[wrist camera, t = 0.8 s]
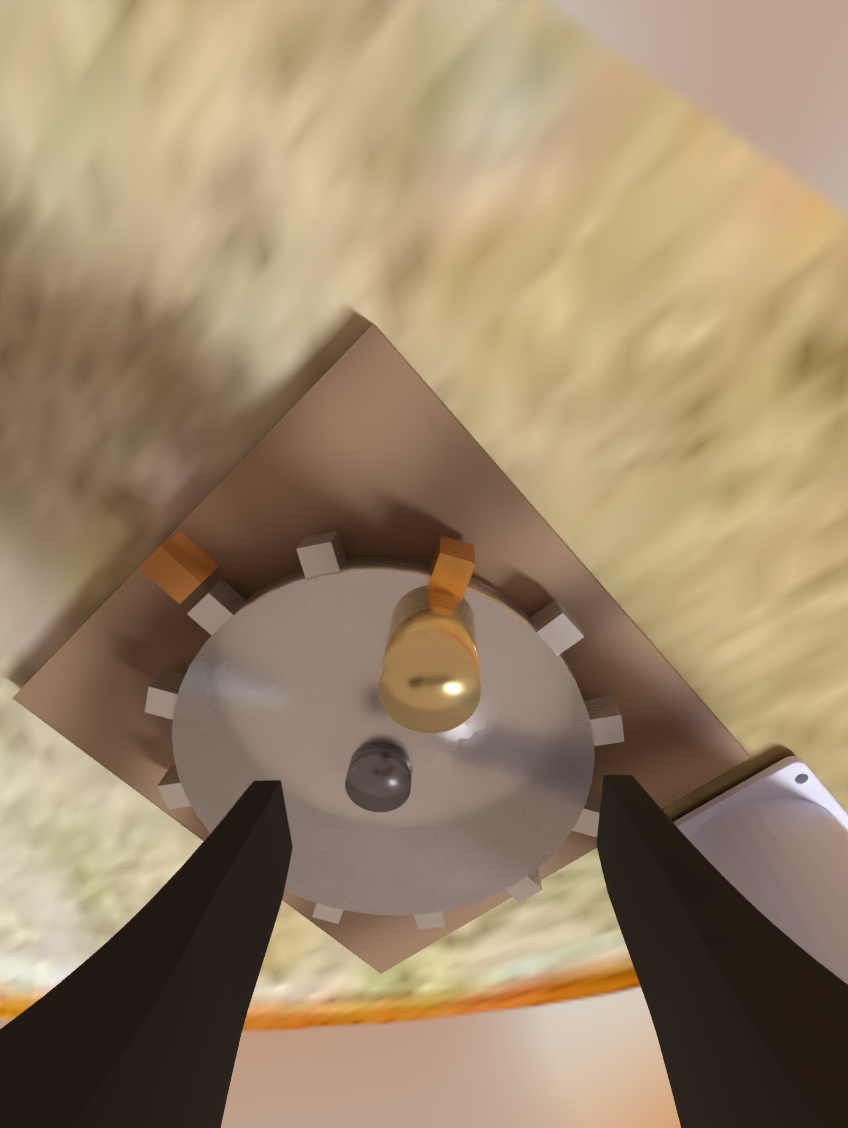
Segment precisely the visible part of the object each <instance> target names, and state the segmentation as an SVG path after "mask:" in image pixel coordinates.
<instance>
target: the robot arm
mask: <svg viewBox="0 0 848 1128" xmlns="http://www.w3.org/2000/svg"><path fill="white" fill-rule="evenodd" d="M799 774H801V775H800V776H798V775H799ZM796 776H797V777H796ZM596 844H597V848H598V853H599V857H600V862H601V866H602V870H603V874H604V879H605V883H606V887H607V891H608V894H609V897H610V900H611V903H612V906H613V909H614V912H615V915H616V917H617V920H618V923H619V926H620V929H621V932H622V935H623V937H624V940H625V943H626V946H627V949H628V951H629V954H630V957H631V960H632V963H633V966H634V968H635V971H636V974H637V977H638V980H639V982H640V985H641V988H642V991H643V994H644V996H645V999H646V1002H647V1005H648V1008H649V1011H650V1014H651V1017H652V1020H653V1023H654V1027H655V1030H656V1033H657V1037H658V1040H659V1044H660V1047H661V1051H662V1055H663V1059H664V1063H665V1066H666V1070H667V1074H668V1078H669V1081H670V1085H671V1089H672V1093H673V1096H674V1101H675V1105H676V1109H677V1113H678V1117H679V1121H680V1124H681V1128H848V814H847V813H846V812H845V811H844V809H843V808H842V807H841V806H840V805H839V803H838V802H837V801H836V800H835V799H834V797H833V796H832V795H831V794H830V793H829V791H828V790H827V789H826V788H825V787H824V785H823V784H822V783H821V782H820V781H819V779H818V778H817V777H816V776H815V775H814V773H813V772H812V771H811V770H810V769H809V768H808V766H807V765H806V764H805V763H804V762H803V760H802V759H800V758H799V757H796V756H789V757H786V758H784V759H782V760H780V761H778V762H777V763H775V764H773V765H772V766H770V767H768V768H766V769H765V770H763V771H761V772H759V773H758V774H756V775H754V776H752V777H751V778H749V779H747V780H745V781H744V782H742V783H740V784H738V785H737V786H735V787H733V788H731V789H730V790H728V791H726V792H724V793H723V794H721V795H719V796H717V797H716V798H714V799H712V800H710V801H709V802H707V803H705V804H703V805H702V806H700V807H698V808H697V809H695V810H693V811H691V812H690V813H688V814H686V815H684V816H683V817H681V818H679V819H677V820H676V821H674V822H672V821H671V819H670V818H669V817H668V816H667V815H666V814H665V813H664V811H663V810H662V809H661V808H660V807H659V806H658V804H657V803H656V802H655V801H654V800H653V798H652V797H651V796H650V795H649V794H648V793H647V791H646V790H645V789H644V788H643V787H642V785H641V784H640V783H639V782H638V781H637V779H636V778H635V777H634V776H632V775H604V776H603V785H602V795H601V804H600V814H599V823H598V833H597V842H596ZM292 848H293V846H292V840H291V835H290V829H289V823H288V818H287V812H286V806H285V801H284V795H283V789H282V784H281V780H265V781H254V782H252V783H251V784H250V786H249V787H248V788H247V789H246V790H245V792H244V793H243V794H242V795H241V797H240V798H239V799H238V800H237V802H236V803H235V804H234V805H233V807H232V808H231V809H230V810H229V812H228V813H227V814H226V815H225V817H224V818H223V819H222V820H221V821H220V823H219V824H218V825H217V826H216V828H215V829H214V830H213V831H212V832H211V834H210V835H209V836H208V837H207V838H206V839H205V841H204V842H203V843H202V844H201V845H200V846H199V848H198V849H197V850H196V851H195V852H194V853H193V855H192V856H191V857H190V858H189V859H188V860H187V861H186V863H185V864H184V865H183V866H182V867H181V868H180V869H179V870H178V871H177V872H176V873H175V875H174V876H173V877H172V878H171V879H170V880H169V881H168V882H167V883H166V884H165V885H164V886H163V887H162V888H161V890H160V891H159V892H158V893H157V894H156V895H155V896H154V897H153V898H152V899H151V900H150V901H149V902H148V903H147V904H146V905H145V906H144V907H143V908H142V909H141V910H140V911H139V912H138V913H137V914H136V915H135V916H134V917H133V918H132V919H131V920H130V921H129V922H128V923H127V924H126V925H125V926H124V927H123V928H122V929H121V930H120V931H118V932H117V933H116V934H115V935H114V936H113V937H112V938H111V939H110V940H109V941H108V942H107V943H106V944H104V945H103V946H102V947H101V948H100V949H99V950H98V951H97V952H95V953H94V954H93V955H92V956H91V957H90V958H89V959H87V960H86V961H85V962H84V963H83V964H82V965H81V966H79V967H78V968H77V969H76V970H75V971H73V972H72V973H71V974H70V975H69V976H67V977H66V978H65V979H64V980H63V981H62V982H60V983H59V984H58V985H57V986H56V987H54V988H53V989H52V990H51V991H50V992H48V993H47V994H46V995H45V996H43V997H42V998H41V999H39V1000H38V1001H37V1002H36V1003H34V1004H33V1005H32V1006H30V1007H29V1008H28V1009H27V1010H25V1011H24V1012H23V1013H21V1014H20V1015H19V1016H17V1017H16V1018H15V1019H13V1020H12V1021H11V1022H9V1023H8V1024H7V1025H5V1026H4V1027H3V1028H2V1029H0V1128H221V1123H222V1118H223V1113H224V1109H225V1104H226V1099H227V1094H228V1090H229V1085H230V1081H231V1076H232V1072H233V1068H234V1063H235V1058H236V1054H237V1050H238V1046H239V1041H240V1037H241V1033H242V1029H243V1026H244V1022H245V1018H246V1015H247V1011H248V1008H249V1004H250V1001H251V998H252V995H253V992H254V988H255V985H256V982H257V979H258V976H259V972H260V969H261V966H262V963H263V960H264V956H265V953H266V950H267V947H268V944H269V941H270V937H271V934H272V931H273V928H274V924H275V921H276V918H277V915H278V911H279V908H280V905H281V901H282V898H283V894H284V889H285V885H286V880H287V875H288V870H289V864H290V859H291V854H292Z"/></svg>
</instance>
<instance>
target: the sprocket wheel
mask: <svg viewBox="0 0 848 1128" xmlns="http://www.w3.org/2000/svg"><path fill="white" fill-rule="evenodd" d="M296 550H297V553H298V556H299V559H300V562H301V565H302V569H301V570H299V571H297V572H294V573H292V574H289V575H287V576H284V577H282V578H280V579H278V580H276V581H274V582H272V583H271V584H269V585H267V586H266V587H264V588H262V589H260V590H259V591H257V592H255V593H254V594H253V595H252V596H250V597H249V598H248V599H247V600H244V599H243V598H242V597H241V596H240V595H239V594H238V593H237V592H236V591H234V590H233V589H232V588H231V587H230V586H229V585H228V584H227V583H226V582H224V581H223V580H221V581H220V582H219V583H218V584H217V585H216V586H214V587H213V588H212V589H211V590H210V591H209V592H208V593H207V594H206V595H205V596H204V597H203V598H202V599H201V600H200V601H199V602H198V603H197V604H196V605H195V606H194V607H193V608H192V609H191V610H190V611H189V612H188V613H187V614H188V615H189V616H190V617H191V618H192V619H193V620H194V621H196V622H197V623H198V624H199V625H200V626H201V627H203V628H204V629H205V630H206V631H207V632H208V633H209V634H211V637H210V638H209V639H208V640H207V642H206V643H205V644H204V645H203V647H202V648H201V650H200V651H199V653H198V654H197V656H196V657H195V658H194V660H193V661H192V663H191V664H190V666H189V668H188V670H187V673H186V675H184V674H181V673H177V672H174V671H170V670H167V669H163V670H162V672H161V673H160V674H159V675H158V676H157V677H156V678H155V679H154V681H153V682H152V683H151V684H150V685H149V686H148V693H147V699H146V706H145V712H146V713H150V714H153V715H157V716H161V717H164V718H168V719H171V720H173V724H172V743H173V755H174V760H175V764H176V765H171V766H170V768H169V769H168V771H167V772H166V774H165V775H164V777H163V778H162V780H161V781H160V783H159V784H158V786H157V787H158V789H159V791H160V793H161V795H162V797H163V799H164V801H165V803H166V805H167V807H168V809H173V808H180V807H187V806H192V808H193V809H194V811H195V813H196V815H197V817H198V818H199V819H200V821H201V822H202V823H203V825H204V826H205V827H206V829H207V830H208V831H209V833H210V834H211V832H212V831H213V830H214V829H215V828H216V826H217V825H218V824H219V823H220V821H221V820H222V819H223V818H224V817H225V815H226V814H227V813H228V812H229V810H230V809H231V808H232V807H233V805H234V804H235V803H236V802H237V800H238V799H239V798H240V797H241V795H242V794H243V793H244V792H245V790H246V789H247V788H248V787H249V786H250V784H251V783H252V782H254V781H265V780H281V784H282V789H283V795H284V801H285V806H286V812H287V818H288V823H289V829H290V835H291V840H292V846H293V848H292V854H291V859H290V864H289V870H288V875H287V880H286V885H285V889H284V890H285V891H287V892H289V893H292V894H294V895H297V896H299V897H301V898H304V899H306V900H309V901H312V902H315V907H314V912H313V916H312V917H314V918H317V919H321V920H325V921H329V922H333V923H337V924H339V921H340V918H341V916H342V913H343V910H347V911H351V912H358V913H366V914H375V915H414V917H415V920H416V923H417V926H418V929H427V928H436V927H445V911H446V910H451V909H455V908H459V907H462V906H466V905H470V904H473V903H476V902H478V901H481V900H483V899H486V898H489V897H491V896H494V895H496V894H498V893H500V892H502V891H504V890H506V891H507V892H508V893H509V894H510V895H512V896H513V897H514V898H515V899H516V900H517V901H519V902H522V901H523V900H525V899H527V898H528V897H530V896H532V895H534V894H535V893H537V892H539V891H541V890H542V886H541V880H540V874H539V869H538V868H539V867H540V866H541V865H542V864H543V863H545V862H546V861H547V860H548V859H549V858H550V857H551V856H552V855H553V854H554V853H555V852H556V850H557V849H558V848H559V847H560V846H561V845H562V844H563V843H564V841H565V840H566V839H567V837H568V835H569V834H570V832H571V831H575V832H579V833H582V834H586V835H589V836H593V837H597V833H598V823H599V814H600V804H601V793H600V792H597V791H593V790H590V787H591V784H592V778H593V769H594V760H595V756H594V746H599V745H605V744H612V743H619V742H624V733H623V725H622V716H621V713H620V711H619V709H618V707H617V705H616V702H615V700H614V698H613V696H606V697H600V698H594V699H587V700H583V698H582V695H581V692H580V690H579V687H578V685H577V682H576V680H575V677H574V675H573V672H572V670H571V667H570V665H569V664H568V662H567V660H566V659H565V657H564V655H563V653H562V652H564V651H565V650H567V649H568V648H569V647H571V646H572V645H574V644H575V643H576V642H578V641H579V640H581V639H582V638H583V637H584V635H583V633H582V630H581V628H580V626H579V624H578V622H577V620H576V619H575V618H574V617H573V616H572V615H571V614H570V612H569V611H568V610H567V609H566V608H565V607H564V606H563V605H562V604H561V603H560V601H559V600H558V599H557V598H556V599H554V600H553V601H552V602H550V603H549V604H548V605H546V606H545V607H544V608H542V609H541V610H540V611H538V612H537V613H536V614H534V615H533V616H531V615H530V614H529V613H528V612H527V611H526V610H525V609H523V608H522V607H521V606H520V605H518V604H517V603H515V602H514V601H513V600H511V599H510V598H508V597H507V596H505V595H504V594H503V593H501V592H500V591H498V590H496V589H494V588H492V587H490V586H489V585H487V584H485V583H483V582H481V581H479V580H477V579H475V578H473V577H471V575H472V573H473V570H474V567H475V565H476V561H475V553H474V545H472V544H469V543H466V542H463V541H459V540H456V539H453V538H450V537H447V536H443V535H440V538H439V541H438V544H437V547H436V550H435V553H434V556H433V559H432V561H431V564H430V563H426V562H422V561H416V560H408V559H399V558H390V557H366V558H352V559H346V556H345V553H344V550H343V546H342V543H341V539H340V536H339V532H338V531H333V532H328V533H323V534H318V535H313V536H308V537H305V538H304V539H303V540H302V542H301V543H300V544H299V546H298V547H297V548H296Z"/></svg>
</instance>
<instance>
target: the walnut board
mask: <svg viewBox="0 0 848 1128" xmlns="http://www.w3.org/2000/svg"><path fill="white" fill-rule="evenodd" d="M333 531H338V532H339V536H340V539H341V543H342V546H343V550H344V553H345V556H346V559H352V558H366V557H390V558H399V559H408V560H416V561H422V562H426V563H430V564H431V561H432V559H433V556H434V553H435V550H436V547H437V544H438V541H439V538H440V535H443V536H447V537H450V538H453V539H456V540H459V541H463V542H466V543H469V544H472V545H474V553H475V561H476V565H475V567H474V570H473V573H472V575H471V577H473V578H475V579H477V580H479V581H481V582H483V583H485V584H487V585H489V586H490V587H492V588H494V589H496V590H498V591H500V592H501V593H503V594H504V595H505V596H507V597H508V598H510V599H511V600H513V601H514V602H515V603H517V604H518V605H520V606H521V607H522V608H523V609H525V610H526V611H527V612H528V613H529V614H530V615H531V616H533V615H534V614H536V613H537V612H538V611H540V610H541V609H542V608H544V607H545V606H546V605H548V604H549V603H550V602H552V601H553V600H554V599H556V598H557V599H558V600H559V601H560V603H561V604H562V605H563V606H564V607H565V608H566V609H567V610H568V611H569V612H570V614H571V615H572V616H573V617H574V618H575V619H576V620H577V622H578V624H579V626H580V628H581V630H582V633H583V635H584V637H583V638H582V639H581V640H579V641H578V642H576V643H575V644H574V645H572V646H571V647H569V648H568V649H567V650H565V651H564V652H562V653H563V655H564V657H565V659H566V660H567V662H568V664H569V665H570V667H571V670H572V672H573V675H574V677H575V680H576V682H577V685H578V687H579V690H580V692H581V695H582V698H583V700H587V699H594V698H600V697H606V696H613V698H614V700H615V702H616V705H617V707H618V709H619V711H620V713H621V716H622V725H623V733H624V742H619V743H612V744H605V745H599V746H594V756H595V760H594V769H593V778H592V784H591V787H590V790H593V791H597V792H600V793H601V795H602V785H603V776H604V775H632V776H634V777H635V778H636V779H637V781H638V782H639V783H640V784H641V785H642V787H643V788H644V789H645V790H646V791H647V793H648V794H649V795H650V796H651V797H652V798H653V800H654V801H655V802H656V803H657V804H658V806H659V807H660V808H661V809H664V808H665V807H667V806H669V805H670V804H672V803H674V802H676V801H677V800H679V799H681V798H682V797H684V796H686V795H688V794H689V793H691V792H693V791H694V790H696V789H698V788H700V787H701V786H703V785H705V784H706V783H708V782H710V781H712V780H713V779H715V778H717V777H718V776H720V775H722V774H724V773H725V772H727V771H729V770H730V769H732V768H734V767H736V766H737V765H739V764H741V763H742V762H744V761H746V760H748V759H749V758H750V757H749V755H748V754H747V753H746V751H745V750H744V749H743V747H742V746H741V745H740V743H739V742H738V741H737V740H736V739H735V738H734V736H733V735H732V734H731V733H730V732H729V731H728V730H727V728H726V727H725V726H724V725H723V724H722V723H721V722H720V720H719V719H718V718H717V717H716V716H715V715H714V713H713V712H712V711H711V710H710V709H709V708H708V707H707V705H706V704H705V703H704V702H703V701H702V700H701V699H700V697H699V696H698V695H697V694H696V693H695V692H694V691H693V689H692V688H691V687H690V686H689V685H688V684H687V682H686V681H685V680H684V679H683V678H682V677H681V676H680V674H679V673H678V672H677V671H676V670H675V669H674V668H673V666H672V665H671V664H670V663H669V662H668V661H667V659H666V658H665V657H664V656H663V655H662V654H661V653H660V651H659V650H658V649H657V648H656V647H655V646H654V645H653V643H652V642H651V641H650V640H649V639H648V638H647V637H646V635H645V634H644V633H643V632H642V631H641V630H640V628H639V627H638V626H637V625H636V624H635V623H634V622H633V620H632V619H631V618H630V617H629V616H628V615H627V614H626V612H625V611H624V610H623V609H622V608H621V607H620V605H619V604H618V603H617V602H616V601H615V600H614V599H613V597H612V596H611V595H610V594H609V593H608V592H607V591H606V589H605V588H604V587H603V586H602V585H601V584H600V583H599V581H598V580H597V579H596V578H595V577H594V576H593V574H592V573H591V572H590V571H589V570H588V569H587V568H586V566H585V565H584V564H583V563H582V562H581V561H580V560H579V558H578V557H577V556H576V555H575V554H574V553H573V551H572V550H571V549H570V548H569V547H568V546H567V545H566V543H565V542H564V541H563V540H562V539H561V538H560V537H559V535H558V534H557V533H556V532H555V531H554V530H553V529H552V527H551V526H550V525H549V524H548V523H547V522H546V520H545V519H544V518H543V517H542V516H541V515H540V514H539V512H538V511H537V510H536V509H535V508H534V507H533V506H532V504H531V503H530V502H529V501H528V500H527V499H526V497H525V496H524V495H523V494H522V493H521V492H520V491H519V489H518V488H517V487H516V486H515V485H514V484H513V483H512V481H511V480H510V479H509V478H508V477H507V476H506V475H505V473H504V472H503V471H502V470H501V469H500V468H499V466H498V465H497V464H496V463H495V462H494V461H493V460H492V458H491V457H490V456H489V455H488V454H487V453H486V452H485V450H484V449H483V448H482V447H481V446H480V445H479V443H478V442H477V441H476V440H475V439H474V438H473V437H472V435H471V434H470V433H469V432H468V431H467V430H466V429H465V427H464V426H463V425H462V424H461V423H460V422H459V421H458V419H457V418H456V417H455V416H454V415H453V414H452V412H451V411H450V410H449V409H448V408H447V407H446V406H445V404H444V403H443V402H442V401H441V400H440V399H439V398H438V396H437V395H436V394H435V393H434V392H433V391H432V389H431V388H430V387H429V386H428V385H427V384H426V383H425V381H424V380H423V379H422V378H421V377H420V376H419V375H418V373H417V372H416V371H415V370H414V369H413V368H412V367H411V365H410V364H409V363H408V362H407V361H406V360H405V358H404V357H403V356H402V355H401V354H400V353H399V352H398V350H397V349H396V348H395V347H394V346H393V345H392V344H391V342H390V341H389V340H388V339H387V338H386V337H385V335H384V334H383V333H382V332H381V331H380V330H379V329H378V327H377V326H376V325H373V324H372V325H371V327H370V328H369V329H368V330H367V331H366V332H365V333H364V334H363V335H362V336H361V337H360V338H359V339H358V340H357V341H356V342H355V343H354V344H353V345H352V346H351V347H350V348H349V349H348V350H347V351H346V352H345V353H344V355H343V356H342V357H341V358H340V359H339V360H338V361H337V362H336V363H335V364H334V365H333V366H332V367H331V368H330V369H329V370H328V371H327V372H326V373H325V374H324V375H323V376H322V377H321V378H320V379H319V380H318V381H317V383H316V384H315V385H314V386H313V387H312V388H311V389H310V390H309V391H308V392H307V393H306V394H305V395H304V396H303V397H302V398H301V399H300V400H299V401H298V402H297V403H296V404H295V405H294V406H293V407H292V408H291V409H290V411H289V412H288V413H287V414H286V415H285V416H284V417H283V418H282V419H281V420H280V421H279V422H278V423H277V424H276V425H275V426H274V427H273V428H272V429H271V430H270V431H269V432H268V433H267V434H266V435H265V436H264V437H263V439H262V440H261V441H260V442H259V443H258V444H257V445H256V446H255V447H254V448H253V449H252V450H251V451H250V452H249V453H248V454H247V455H246V456H245V457H244V458H243V459H242V460H241V461H240V462H239V463H238V464H237V465H236V467H235V468H234V469H233V470H232V471H231V472H230V473H229V474H228V475H227V476H226V477H225V478H224V479H223V480H222V481H221V482H220V483H219V484H218V485H217V486H216V487H215V488H214V489H213V490H212V491H211V492H210V493H209V495H208V496H207V497H206V498H205V499H204V500H203V501H202V502H201V503H200V504H199V505H198V506H197V507H196V508H195V509H194V510H193V511H192V512H191V513H190V514H189V515H188V516H187V517H186V518H185V519H184V520H183V521H182V523H181V524H180V525H179V526H178V527H177V528H176V529H175V530H174V531H173V532H172V533H171V534H170V535H169V536H168V537H167V538H166V539H165V540H164V541H163V542H162V543H161V544H160V545H159V546H158V547H157V548H156V549H155V551H154V552H153V553H152V554H151V555H150V556H149V557H148V558H147V559H146V560H145V561H144V562H143V563H142V564H141V565H140V566H139V567H138V568H137V569H136V570H135V571H134V572H133V573H132V574H131V575H130V576H129V577H128V578H127V580H126V581H125V582H124V583H123V584H122V585H121V586H120V587H119V588H118V589H117V590H116V591H115V592H114V593H113V594H112V595H111V596H110V597H109V598H108V599H107V600H106V601H105V602H104V603H103V604H102V605H101V606H100V608H99V609H98V610H97V611H96V612H95V613H94V614H93V615H92V616H91V617H90V618H89V619H88V620H87V621H86V622H85V623H84V624H83V625H82V626H81V627H80V628H79V629H78V630H77V631H76V632H75V633H74V634H73V636H72V637H71V638H70V639H69V640H68V641H67V642H66V643H65V644H64V645H63V646H62V647H61V648H60V649H59V650H58V651H57V652H56V653H55V654H54V655H53V656H52V657H51V658H50V659H49V660H48V661H47V662H46V664H45V665H44V666H43V667H42V668H41V669H40V670H39V671H38V672H37V673H36V674H35V675H34V676H33V677H32V678H31V679H30V680H29V681H28V682H27V683H26V684H25V685H24V686H23V687H22V688H21V689H20V690H19V692H18V693H17V694H16V695H15V696H14V697H13V699H14V700H16V701H17V702H18V703H20V704H21V705H22V706H24V707H25V708H26V709H28V710H29V711H30V712H32V713H33V714H34V715H36V716H37V717H38V718H40V719H41V720H42V721H44V722H45V723H46V724H48V725H49V726H50V727H52V728H53V729H54V730H56V731H57V732H58V733H60V734H61V735H62V736H64V737H65V738H66V739H68V740H69V741H70V742H72V743H73V744H74V745H76V746H77V747H78V748H80V749H81V750H82V751H84V752H85V753H86V754H88V755H89V756H90V757H92V758H93V759H94V760H96V761H97V762H98V763H100V764H101V765H102V766H104V767H105V768H106V769H108V770H109V771H111V772H112V773H113V774H115V775H116V776H117V777H119V778H120V779H121V780H123V781H124V782H125V783H127V784H128V785H129V786H131V787H132V788H133V789H135V790H136V791H137V792H139V793H140V794H141V795H143V796H144V797H145V798H147V799H148V800H149V801H151V802H152V803H153V804H155V805H156V806H157V807H159V808H160V809H161V810H163V811H164V812H165V813H167V814H168V815H169V816H171V817H172V818H173V819H175V820H176V821H177V822H179V823H180V824H181V825H183V826H184V827H185V828H187V829H188V830H189V831H191V832H192V833H193V834H195V835H196V836H197V837H199V838H200V839H201V840H203V841H205V839H206V838H207V837H208V836H209V835H210V833H209V831H208V830H207V829H206V827H205V826H204V825H203V823H202V822H201V821H200V819H199V818H198V817H197V815H196V813H195V811H194V809H193V808H192V806H187V807H180V808H173V809H168V807H167V805H166V803H165V801H164V799H163V797H162V795H161V793H160V791H159V789H158V787H157V786H158V784H159V783H160V781H161V780H162V778H163V777H164V775H165V774H166V772H167V771H168V769H169V768H170V766H171V765H176V764H175V760H174V755H173V743H172V724H173V720H171V719H168V718H164V717H161V716H157V715H153V714H150V713H146V712H145V706H146V699H147V693H148V686H149V685H150V684H151V683H152V682H153V681H154V679H155V678H156V677H157V676H158V675H159V674H160V673H161V672H162V670H163V669H167V670H170V671H174V672H177V673H181V674H184V675H186V673H187V670H188V668H189V666H190V664H191V663H192V661H193V660H194V658H195V657H196V656H197V654H198V653H199V651H200V650H201V648H202V647H203V645H204V644H205V643H206V642H207V640H208V639H209V638H210V637H211V634H209V633H208V632H207V631H206V630H205V629H204V628H203V627H201V626H200V625H199V624H198V623H197V622H196V621H194V620H193V619H192V618H191V617H190V616H189V615H188V614H187V613H188V612H189V611H190V610H191V609H192V608H193V607H194V606H195V605H196V604H197V603H198V602H199V601H200V600H201V599H202V598H203V597H204V596H205V595H206V594H207V593H208V592H209V591H210V590H211V589H212V588H213V587H214V586H216V585H217V584H218V583H219V582H220V581H221V580H223V581H224V582H226V583H227V584H228V585H229V586H230V587H231V588H232V589H233V590H234V591H236V592H237V593H238V594H239V595H240V596H241V597H242V598H243V599H244V600H247V599H248V598H249V597H250V596H252V595H253V594H254V593H255V592H257V591H259V590H260V589H262V588H264V587H266V586H267V585H269V584H271V583H272V582H274V581H276V580H278V579H280V578H282V577H284V576H287V575H289V574H292V573H294V572H297V571H299V570H301V569H302V565H301V562H300V559H299V556H298V553H297V550H296V548H297V547H298V546H299V544H300V543H301V542H302V540H303V539H304V538H305V537H308V536H313V535H318V534H323V533H328V532H333ZM596 842H597V837H593V836H589V835H586V834H582V833H579V832H575V831H571V832H570V834H569V835H568V837H567V839H566V840H565V841H564V843H563V844H562V845H561V846H560V847H559V848H558V849H557V850H556V852H555V853H554V854H553V855H552V856H551V857H550V858H549V859H548V860H547V861H546V862H545V863H543V864H542V865H541V866H540V867H539V868H538V869H539V874H540V880H542V879H544V878H545V877H547V876H549V875H551V874H552V873H554V872H556V871H557V870H559V869H561V868H563V867H564V866H566V865H568V864H569V863H571V862H573V861H575V860H576V859H578V858H580V857H581V856H583V855H585V854H587V853H588V852H590V851H592V850H593V849H595V848H597V844H596ZM511 897H513V896H512V895H510V894H509V893H508V892H507V891H506V890H504V891H502V892H500V893H498V894H496V895H494V896H491V897H489V898H486V899H483V900H481V901H478V902H476V903H473V904H470V905H466V906H462V907H459V908H455V909H451V910H446V911H445V927H436V928H427V929H418V926H417V923H416V920H415V917H414V915H375V914H366V913H358V912H351V911H347V910H343V913H342V916H341V918H340V921H339V924H337V923H333V922H329V921H325V920H321V919H317V918H314V917H312V916H313V912H314V907H315V902H312V901H309V900H306V899H304V898H301V897H299V896H297V895H294V894H292V893H289V892H287V891H285V890H284V894H283V898H282V900H283V901H284V902H286V903H287V904H288V905H290V906H291V907H292V908H294V909H295V910H296V911H298V912H299V913H300V914H302V915H303V916H305V917H306V918H307V919H309V920H310V921H311V922H313V923H314V924H315V925H317V926H318V927H319V928H321V929H322V930H323V931H325V932H326V933H327V934H329V935H330V936H331V937H333V938H334V939H335V940H337V941H338V942H339V943H341V944H342V945H343V946H345V947H346V948H347V949H349V950H350V951H351V952H353V953H354V954H355V955H357V956H358V957H359V958H361V959H362V960H363V961H365V962H366V963H367V964H369V965H370V966H371V967H373V968H374V969H375V970H377V971H378V972H379V973H383V972H385V971H386V970H388V969H390V968H391V967H393V966H395V965H397V964H398V963H400V962H402V961H403V960H405V959H407V958H409V957H410V956H412V955H414V954H415V953H417V952H419V951H421V950H422V949H424V948H426V947H427V946H429V945H431V944H432V943H434V942H436V941H438V940H439V939H441V938H443V937H444V936H446V935H448V934H450V933H451V932H453V931H455V930H456V929H458V928H460V927H462V926H463V925H465V924H467V923H468V922H470V921H472V920H474V919H475V918H477V917H479V916H480V915H482V914H484V913H486V912H487V911H489V910H491V909H492V908H494V907H496V906H498V905H499V904H501V903H503V902H504V901H506V900H508V899H510V898H511Z"/></svg>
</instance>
